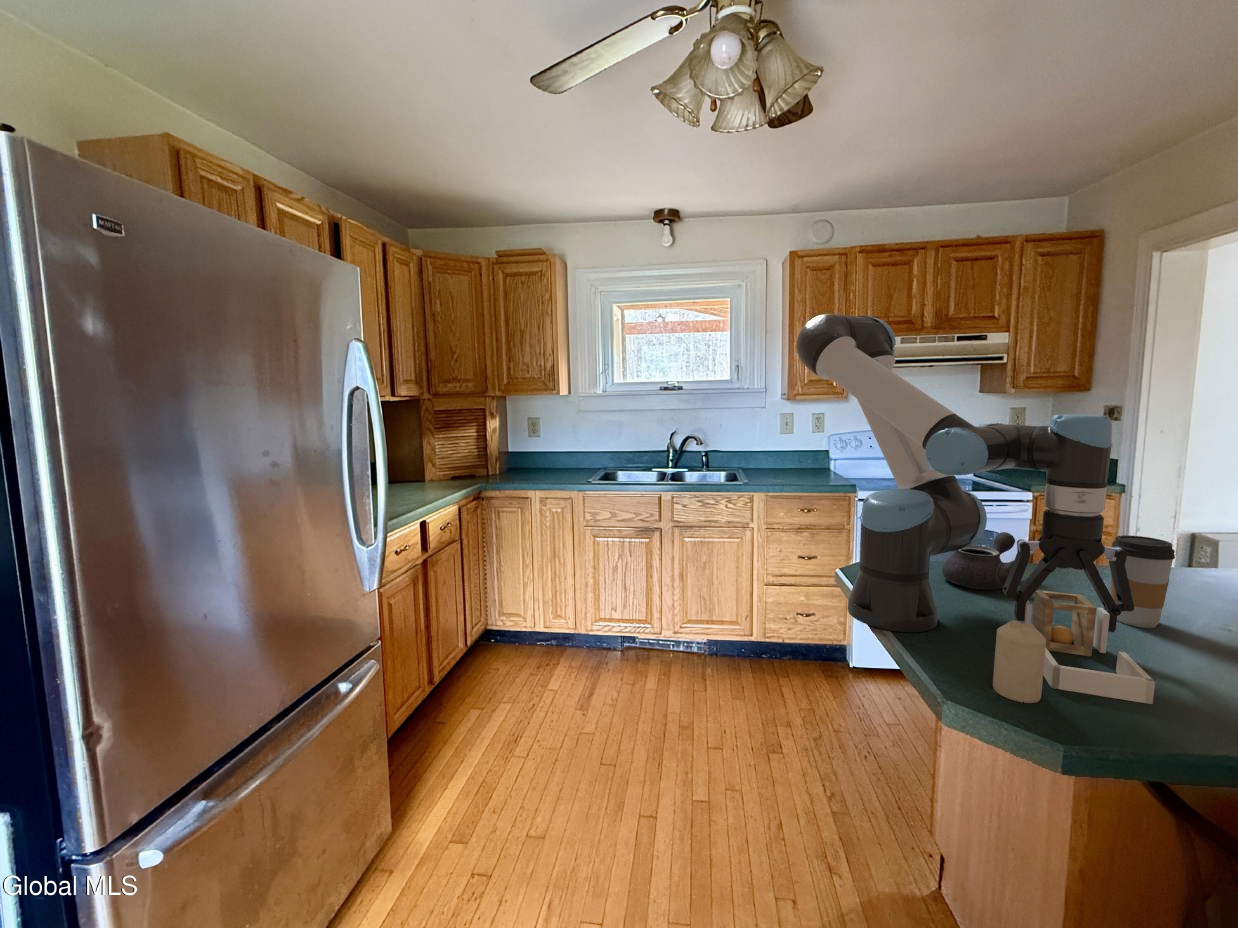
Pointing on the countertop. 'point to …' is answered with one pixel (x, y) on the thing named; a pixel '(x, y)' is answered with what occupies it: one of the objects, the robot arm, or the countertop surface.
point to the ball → (1061, 635)
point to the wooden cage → (1080, 621)
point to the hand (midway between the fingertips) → (1061, 643)
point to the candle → (1019, 662)
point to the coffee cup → (1145, 578)
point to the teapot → (980, 564)
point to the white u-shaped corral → (1102, 680)
